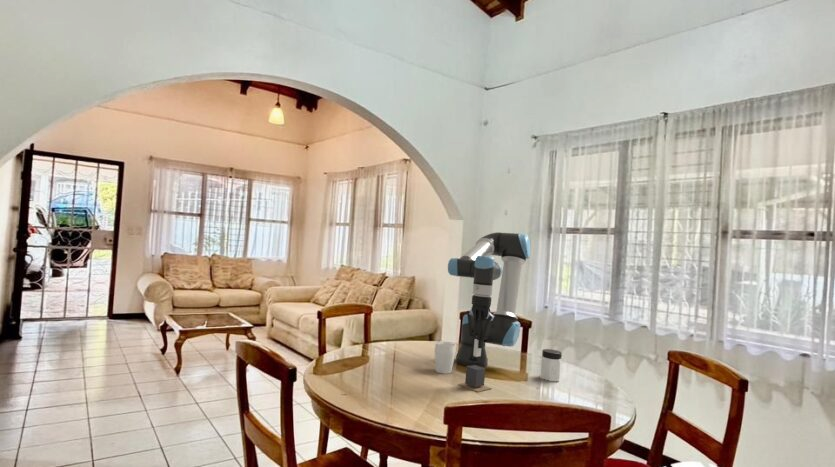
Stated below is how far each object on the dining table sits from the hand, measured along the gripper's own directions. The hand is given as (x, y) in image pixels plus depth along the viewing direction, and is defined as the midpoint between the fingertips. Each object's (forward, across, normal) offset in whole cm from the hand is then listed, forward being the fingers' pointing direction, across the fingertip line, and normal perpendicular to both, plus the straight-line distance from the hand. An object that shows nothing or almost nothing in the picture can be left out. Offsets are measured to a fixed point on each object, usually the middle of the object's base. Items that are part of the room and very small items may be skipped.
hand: (477, 355), depth 174 cm
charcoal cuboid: (+11, 0, 0) cm, 11 cm away
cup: (+12, -21, +4) cm, 25 cm away
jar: (+12, +8, +41) cm, 44 cm away
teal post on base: (+12, 0, 0) cm, 12 cm away
